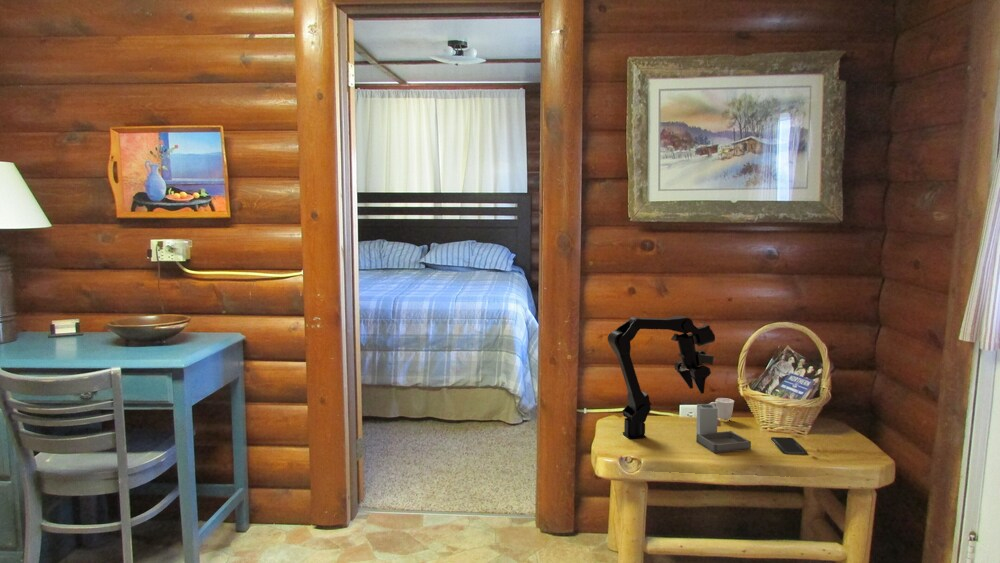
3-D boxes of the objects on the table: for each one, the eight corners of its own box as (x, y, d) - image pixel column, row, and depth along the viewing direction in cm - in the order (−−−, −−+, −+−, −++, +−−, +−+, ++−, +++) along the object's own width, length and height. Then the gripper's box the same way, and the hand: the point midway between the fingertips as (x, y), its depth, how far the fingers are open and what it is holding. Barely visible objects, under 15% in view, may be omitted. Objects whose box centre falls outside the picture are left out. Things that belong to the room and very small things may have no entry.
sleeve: (699, 438, 231) (700, 408, 230) (696, 433, 237) (697, 403, 236) (721, 439, 230) (722, 408, 229) (717, 433, 236) (718, 404, 235)
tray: (714, 453, 216) (714, 445, 216) (696, 442, 228) (696, 434, 227) (750, 449, 219) (750, 441, 219) (730, 438, 231) (731, 430, 230)
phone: (783, 452, 215) (770, 436, 230) (783, 455, 215) (769, 440, 230) (808, 452, 214) (793, 437, 229) (808, 456, 214) (793, 440, 229)
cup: (735, 423, 247) (736, 403, 247) (708, 422, 249) (708, 402, 248) (732, 418, 254) (732, 398, 254) (705, 417, 256) (706, 397, 255)
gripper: (719, 347, 228) (729, 390, 229) (697, 341, 246) (705, 380, 247) (690, 355, 227) (700, 398, 228) (669, 348, 245) (678, 388, 246)
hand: (696, 390), depth 237 cm, fingers open, 9 cm apart
